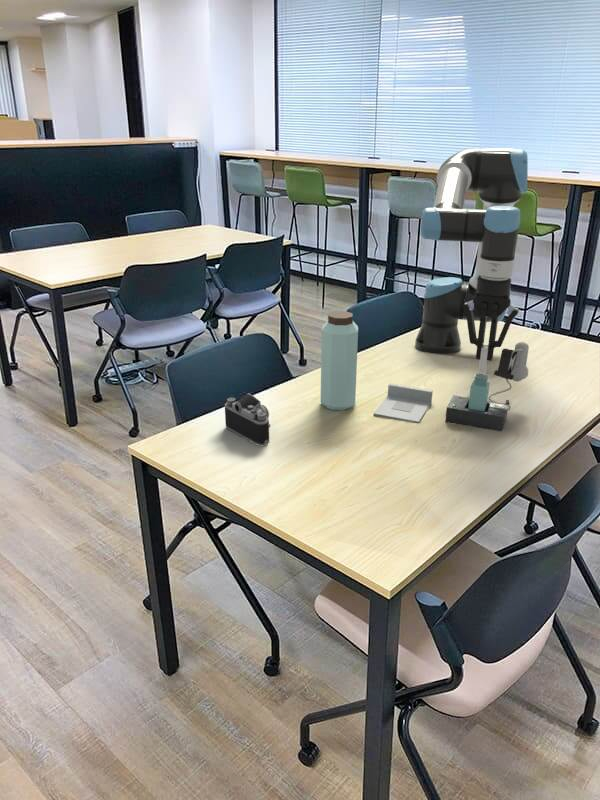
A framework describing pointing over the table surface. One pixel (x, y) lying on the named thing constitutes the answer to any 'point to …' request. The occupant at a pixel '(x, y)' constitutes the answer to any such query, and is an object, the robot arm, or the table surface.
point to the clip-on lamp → (513, 365)
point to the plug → (479, 393)
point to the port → (477, 414)
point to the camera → (248, 419)
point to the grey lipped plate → (405, 403)
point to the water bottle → (339, 361)
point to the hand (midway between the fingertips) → (482, 371)
